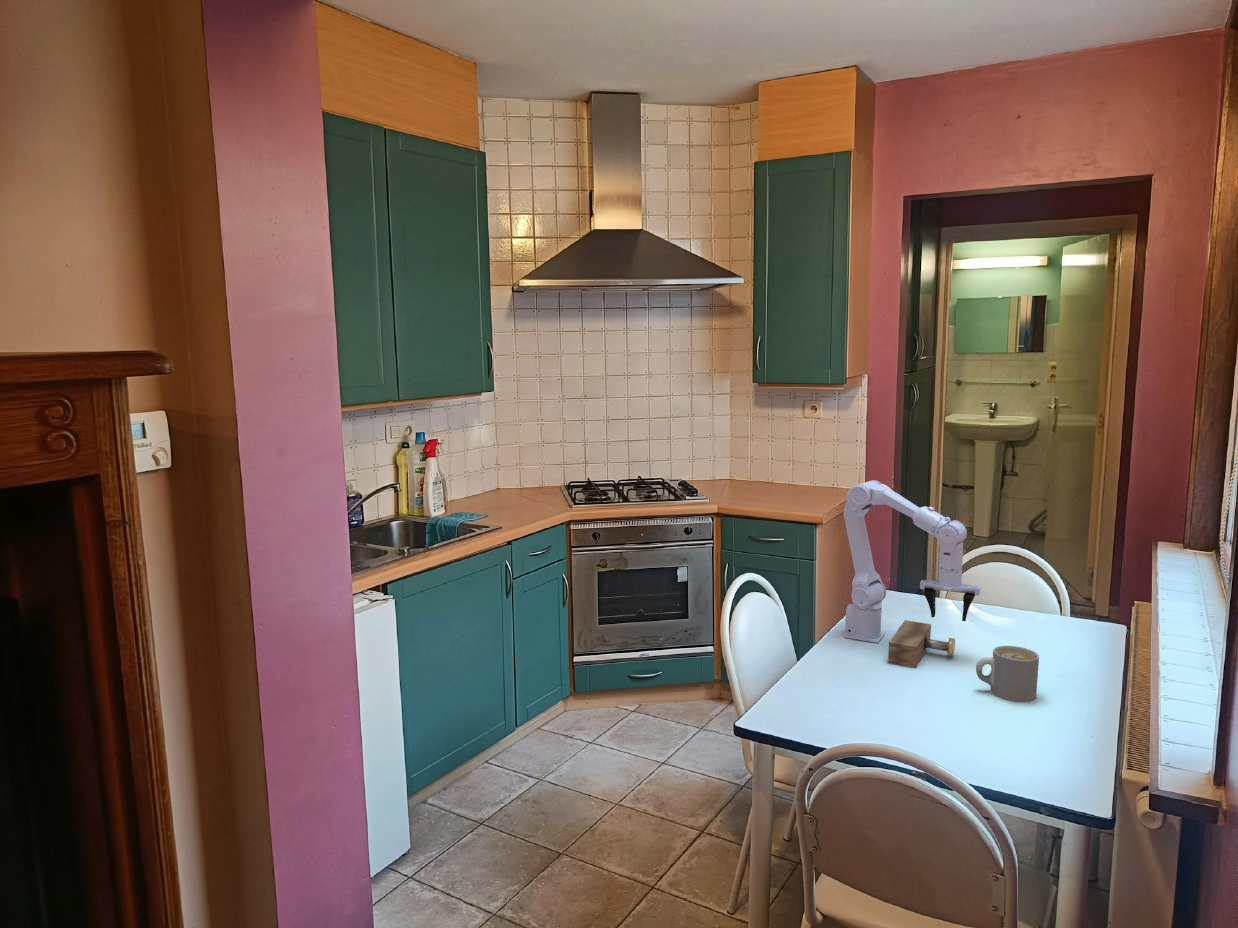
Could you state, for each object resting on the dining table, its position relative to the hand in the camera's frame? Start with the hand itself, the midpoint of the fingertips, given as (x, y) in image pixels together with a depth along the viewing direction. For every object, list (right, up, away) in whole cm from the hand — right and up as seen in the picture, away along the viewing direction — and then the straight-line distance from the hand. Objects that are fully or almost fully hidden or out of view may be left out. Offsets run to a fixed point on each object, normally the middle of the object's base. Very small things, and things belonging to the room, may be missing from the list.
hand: (948, 618), depth 228 cm
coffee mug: (+6, -14, -21) cm, 26 cm away
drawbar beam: (-9, -10, +4) cm, 14 cm away
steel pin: (-3, -10, +3) cm, 11 cm away
